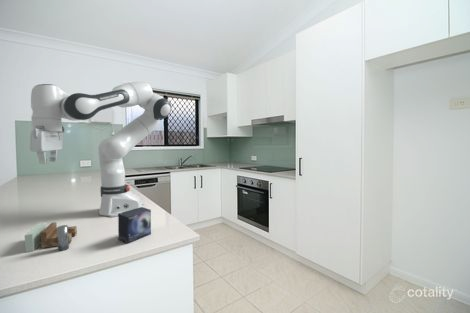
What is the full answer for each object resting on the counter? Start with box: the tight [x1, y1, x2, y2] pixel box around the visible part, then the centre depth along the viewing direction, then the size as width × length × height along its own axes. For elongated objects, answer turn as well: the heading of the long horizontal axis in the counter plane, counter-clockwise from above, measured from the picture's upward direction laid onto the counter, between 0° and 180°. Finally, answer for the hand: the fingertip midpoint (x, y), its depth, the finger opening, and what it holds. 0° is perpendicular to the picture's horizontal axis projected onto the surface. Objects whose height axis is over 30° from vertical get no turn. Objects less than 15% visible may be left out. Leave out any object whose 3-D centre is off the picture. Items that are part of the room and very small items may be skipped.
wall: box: [24, 221, 47, 253], centre depth 80 cm, size 2×12×6 cm, turn 23°
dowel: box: [57, 224, 70, 252], centre depth 77 cm, size 3×3×8 cm
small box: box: [117, 207, 152, 244], centre depth 87 cm, size 11×6×10 cm, turn 148°
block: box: [41, 221, 78, 249], centre depth 83 cm, size 8×10×6 cm
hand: (48, 162), depth 86 cm, fingers open, 8 cm apart
